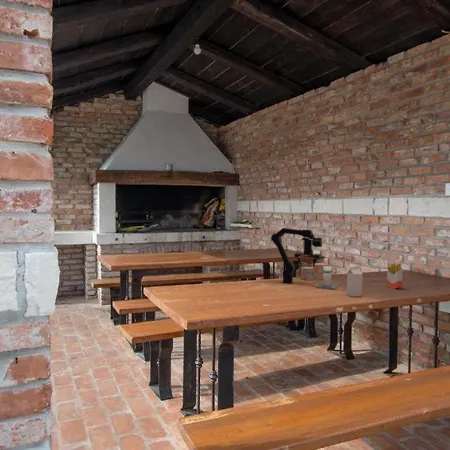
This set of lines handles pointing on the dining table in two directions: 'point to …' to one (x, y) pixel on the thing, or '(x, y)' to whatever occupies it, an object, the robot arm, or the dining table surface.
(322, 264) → the stack of blocks
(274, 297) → the dining table surface
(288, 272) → the robot arm
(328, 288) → the slate tile
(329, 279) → the banded post
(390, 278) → the french fries container
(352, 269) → the milk carton
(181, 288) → the dining table surface
